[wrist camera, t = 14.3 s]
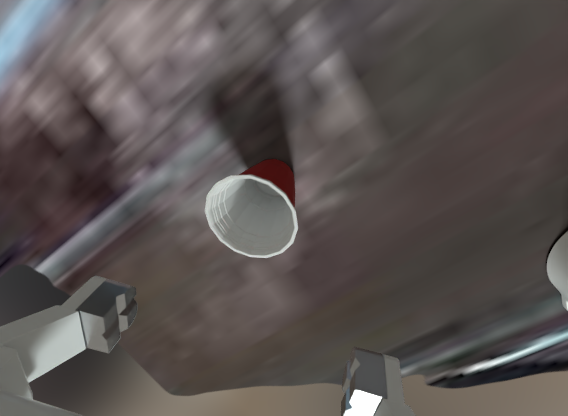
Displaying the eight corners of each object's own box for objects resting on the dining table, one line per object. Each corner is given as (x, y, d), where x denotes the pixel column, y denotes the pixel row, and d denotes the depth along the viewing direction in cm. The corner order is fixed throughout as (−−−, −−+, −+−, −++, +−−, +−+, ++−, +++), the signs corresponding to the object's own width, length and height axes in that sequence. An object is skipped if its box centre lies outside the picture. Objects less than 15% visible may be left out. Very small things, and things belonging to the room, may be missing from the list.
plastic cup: (221, 171, 48) (183, 210, 38) (275, 124, 43) (250, 154, 33) (270, 225, 51) (248, 275, 40) (327, 186, 46) (318, 232, 36)
